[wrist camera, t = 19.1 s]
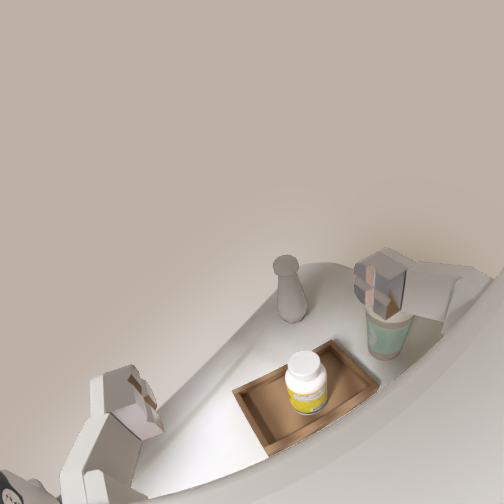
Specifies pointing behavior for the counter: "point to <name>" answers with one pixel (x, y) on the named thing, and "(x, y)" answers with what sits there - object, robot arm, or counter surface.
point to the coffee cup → (386, 333)
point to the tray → (279, 407)
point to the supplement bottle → (306, 382)
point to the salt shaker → (289, 290)
